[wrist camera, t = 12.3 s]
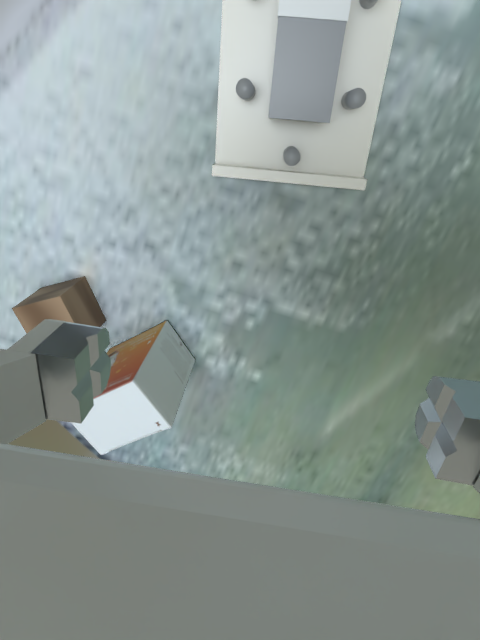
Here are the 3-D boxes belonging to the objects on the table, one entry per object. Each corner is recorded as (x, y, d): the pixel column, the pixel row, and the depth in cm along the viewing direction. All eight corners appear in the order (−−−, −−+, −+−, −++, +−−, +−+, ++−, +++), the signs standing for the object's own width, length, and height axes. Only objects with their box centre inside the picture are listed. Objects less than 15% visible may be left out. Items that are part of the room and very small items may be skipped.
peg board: (423, -118, 24) (448, -160, 20) (359, 185, 32) (369, 193, 29) (230, -130, 24) (222, -173, 21) (216, 172, 33) (208, 178, 29)
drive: (343, -12, 26) (357, -41, 21) (322, 123, 29) (330, 123, 25) (282, -16, 26) (283, -46, 21) (268, 118, 30) (267, 117, 25)
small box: (168, 318, 39) (134, 378, 30) (197, 359, 41) (173, 428, 32) (107, 348, 42) (58, 413, 32) (137, 386, 44) (100, 457, 34)
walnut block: (85, 275, 38) (59, 296, 34) (106, 319, 40) (85, 344, 36) (42, 287, 39) (11, 308, 35) (64, 329, 41) (39, 354, 37)
